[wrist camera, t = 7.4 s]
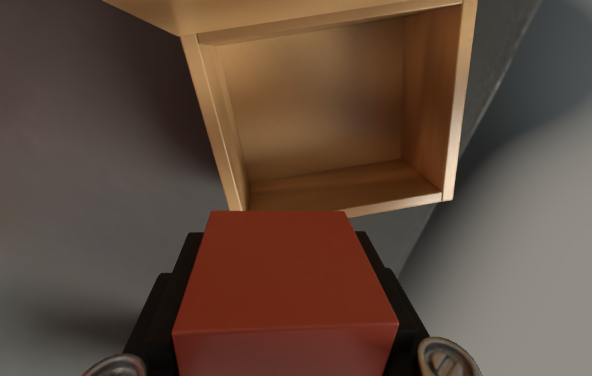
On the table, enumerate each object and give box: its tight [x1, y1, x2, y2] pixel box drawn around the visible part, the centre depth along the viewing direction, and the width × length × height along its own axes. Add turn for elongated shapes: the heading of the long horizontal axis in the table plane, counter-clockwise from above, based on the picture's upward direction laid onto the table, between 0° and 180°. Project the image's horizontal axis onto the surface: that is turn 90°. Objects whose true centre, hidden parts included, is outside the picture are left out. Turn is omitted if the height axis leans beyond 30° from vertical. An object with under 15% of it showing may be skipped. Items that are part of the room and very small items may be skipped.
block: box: [172, 211, 399, 376], centre depth 8 cm, size 4×4×4 cm
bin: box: [180, 0, 478, 218], centre depth 19 cm, size 12×15×7 cm
